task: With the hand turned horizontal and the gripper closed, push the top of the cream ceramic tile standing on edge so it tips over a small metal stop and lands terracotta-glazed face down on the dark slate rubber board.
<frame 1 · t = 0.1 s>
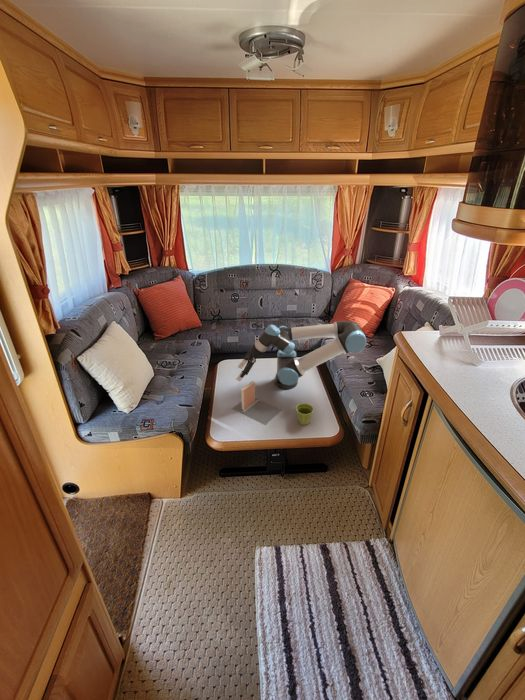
hand: (238, 373, 204), 15 cm above the table, tool tilted 35°, fingers open, 13 cm apart
board: (256, 410, 198), on the table
plant pot: (303, 421, 189), on the table
tile: (248, 405, 200), point 1 cm above the table, touching board
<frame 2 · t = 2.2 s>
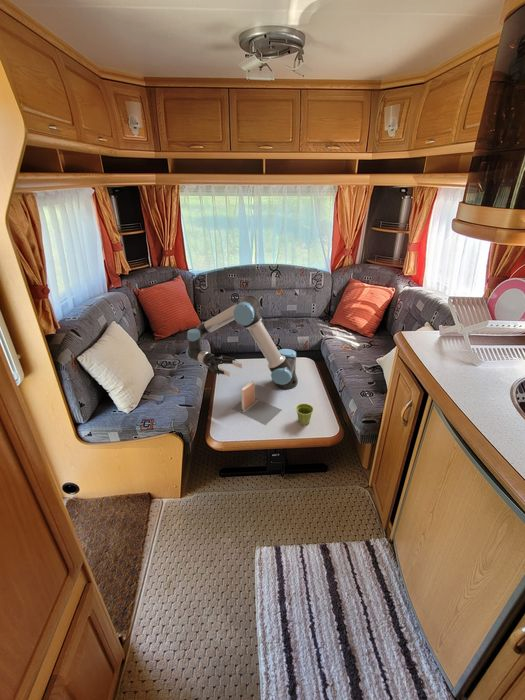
hand: (235, 370, 195), 22 cm above the table, tool horizontal, fingers open, 10 cm apart
nothing on the table moved.
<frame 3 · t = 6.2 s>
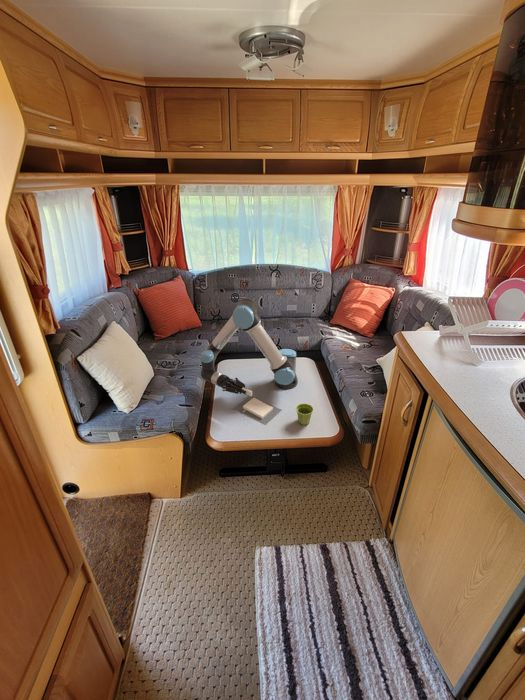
hand: (251, 393, 194), 11 cm above the table, tool horizontal, fingers closed
tile: (248, 402, 199), point 3 cm above the table, tilted 94°, touching board
everything else where it was.
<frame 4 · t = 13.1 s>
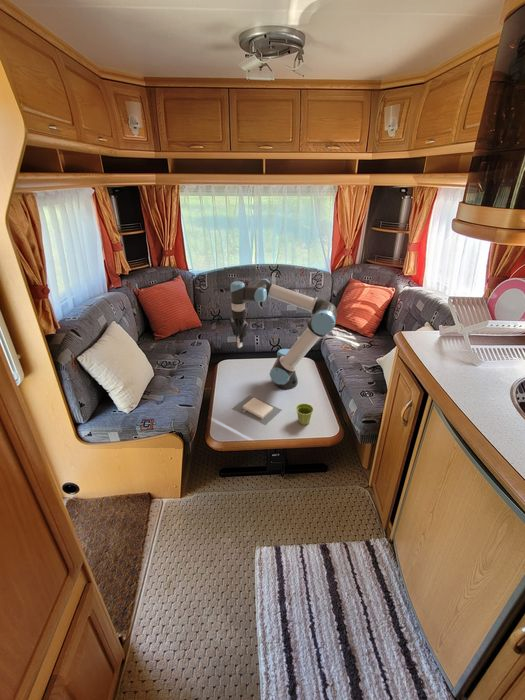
hand: (240, 346, 204), 29 cm above the table, tool pointing down, fingers closed
nothing on the table moved.
at the end: tile tilted 94°; tile 6.0 cm from the board (horizontally); tile touching board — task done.
